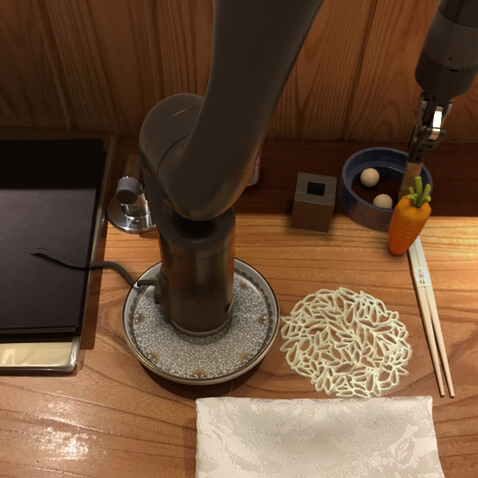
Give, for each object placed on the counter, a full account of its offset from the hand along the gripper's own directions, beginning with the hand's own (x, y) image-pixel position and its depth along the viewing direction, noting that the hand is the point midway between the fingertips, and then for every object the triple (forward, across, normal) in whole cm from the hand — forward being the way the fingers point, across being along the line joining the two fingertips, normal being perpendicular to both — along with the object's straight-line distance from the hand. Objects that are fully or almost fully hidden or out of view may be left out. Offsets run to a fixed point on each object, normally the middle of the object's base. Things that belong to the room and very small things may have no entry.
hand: (414, 155), depth 84 cm
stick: (+9, 0, +1) cm, 9 cm away
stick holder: (+11, +6, -14) cm, 18 cm away
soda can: (+11, -1, -26) cm, 28 cm away
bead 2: (+9, +2, -3) cm, 9 cm away
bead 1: (+9, -3, -5) cm, 10 cm away
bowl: (+11, 0, -3) cm, 11 cm away
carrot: (+11, +10, 0) cm, 15 cm away
